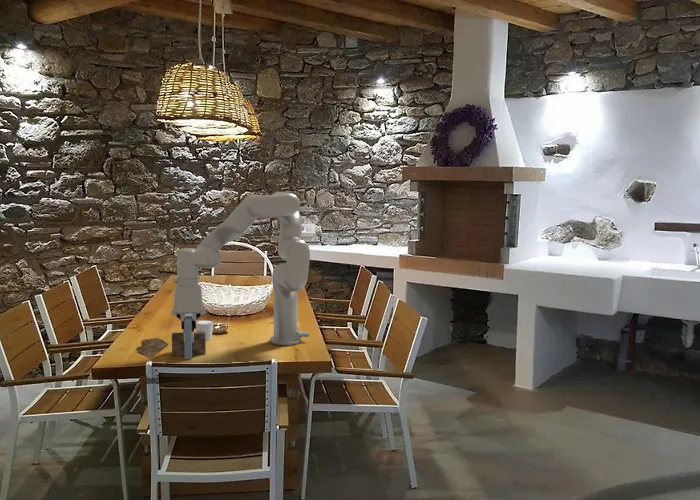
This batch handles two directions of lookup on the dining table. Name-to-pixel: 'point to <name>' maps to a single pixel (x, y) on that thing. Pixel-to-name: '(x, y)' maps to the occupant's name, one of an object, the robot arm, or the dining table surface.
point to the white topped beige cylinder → (205, 328)
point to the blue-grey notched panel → (188, 336)
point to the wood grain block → (197, 345)
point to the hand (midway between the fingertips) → (188, 330)
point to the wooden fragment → (151, 346)
